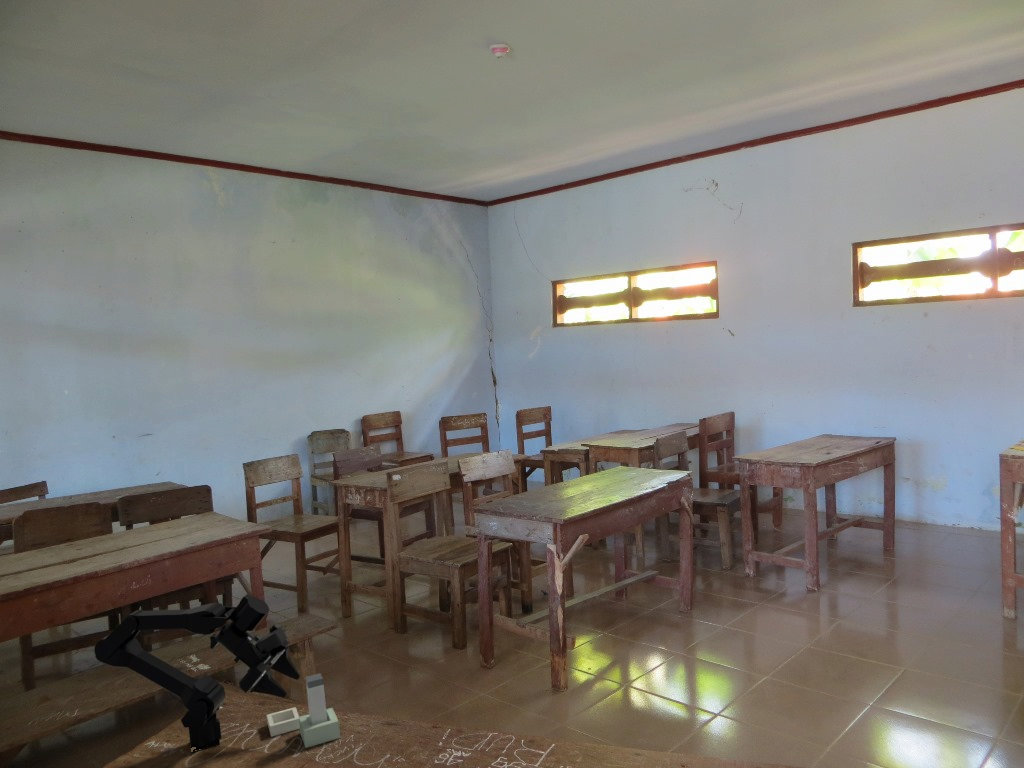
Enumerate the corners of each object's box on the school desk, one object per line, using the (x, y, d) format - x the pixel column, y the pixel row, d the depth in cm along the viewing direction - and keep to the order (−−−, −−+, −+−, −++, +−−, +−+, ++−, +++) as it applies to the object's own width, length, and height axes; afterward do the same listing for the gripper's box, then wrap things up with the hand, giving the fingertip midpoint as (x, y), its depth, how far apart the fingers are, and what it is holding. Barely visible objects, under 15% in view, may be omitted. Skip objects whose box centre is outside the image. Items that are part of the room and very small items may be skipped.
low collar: (270, 736, 177) (269, 726, 177) (267, 724, 184) (266, 714, 184) (300, 728, 180) (299, 718, 180) (296, 716, 186) (295, 707, 186)
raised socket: (305, 748, 170) (303, 731, 170) (300, 733, 178) (298, 717, 177) (340, 737, 174) (338, 721, 174) (333, 723, 181) (332, 707, 181)
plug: (313, 732, 173) (307, 682, 173) (310, 726, 176) (305, 676, 176) (328, 728, 175) (322, 678, 174) (325, 722, 178) (320, 673, 177)
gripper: (247, 633, 166) (300, 678, 166) (277, 605, 185) (325, 645, 184) (216, 671, 167) (269, 715, 166) (249, 639, 185) (297, 679, 185)
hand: (292, 686), depth 176 cm, fingers open, 9 cm apart
